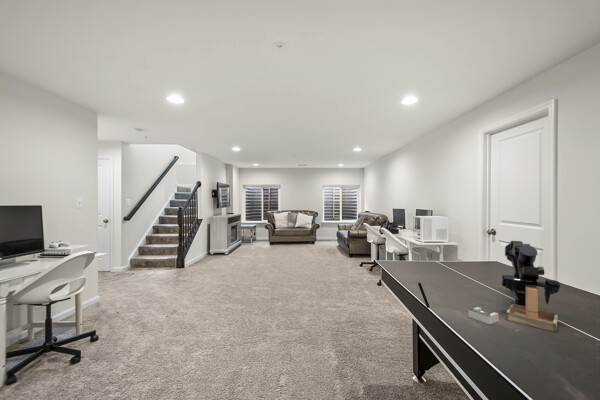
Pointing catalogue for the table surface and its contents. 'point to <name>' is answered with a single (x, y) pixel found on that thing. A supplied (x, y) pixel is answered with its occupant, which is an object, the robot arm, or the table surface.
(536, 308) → the orange post
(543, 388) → the table surface
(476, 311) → the white piece
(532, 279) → the robot arm
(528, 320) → the tray
